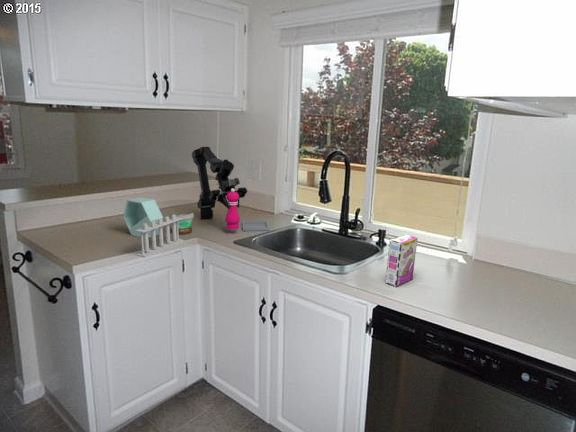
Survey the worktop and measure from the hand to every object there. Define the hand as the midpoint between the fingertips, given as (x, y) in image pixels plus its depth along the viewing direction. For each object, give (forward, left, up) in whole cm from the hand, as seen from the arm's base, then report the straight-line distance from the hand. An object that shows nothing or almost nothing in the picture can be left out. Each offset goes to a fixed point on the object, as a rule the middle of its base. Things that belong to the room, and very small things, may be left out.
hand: (233, 207), depth 193 cm
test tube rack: (-31, -21, -14) cm, 40 cm away
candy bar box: (+61, -63, -13) cm, 88 cm away
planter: (-43, -1, -13) cm, 45 cm away
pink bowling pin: (-1, +1, -11) cm, 11 cm away
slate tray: (+11, +11, -13) cm, 20 cm away
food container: (-24, +1, -13) cm, 28 cm away
